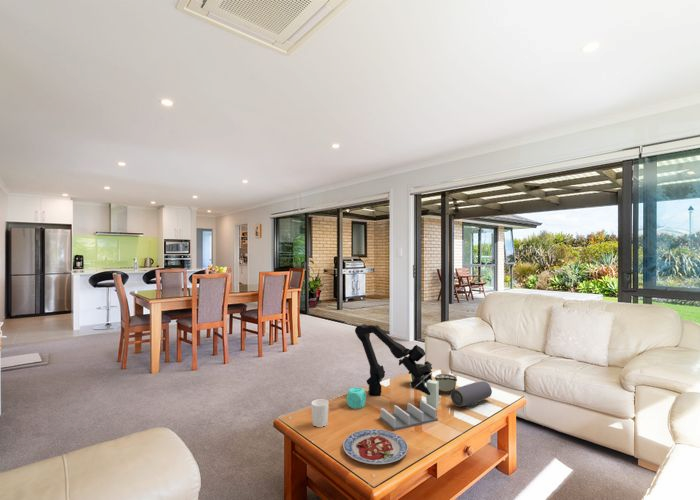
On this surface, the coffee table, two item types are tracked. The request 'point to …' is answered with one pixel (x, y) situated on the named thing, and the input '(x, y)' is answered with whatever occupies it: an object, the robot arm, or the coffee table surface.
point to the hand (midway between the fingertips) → (432, 391)
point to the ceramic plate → (375, 446)
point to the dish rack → (409, 416)
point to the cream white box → (433, 393)
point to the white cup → (320, 412)
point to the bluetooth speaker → (471, 394)
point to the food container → (446, 383)
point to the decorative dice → (356, 398)
